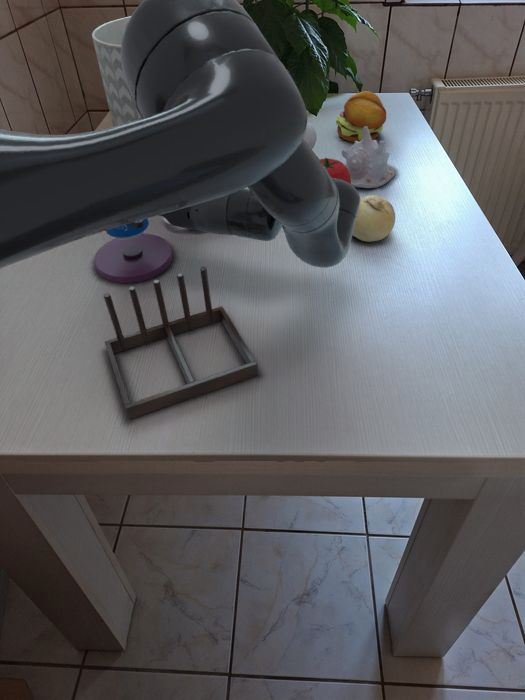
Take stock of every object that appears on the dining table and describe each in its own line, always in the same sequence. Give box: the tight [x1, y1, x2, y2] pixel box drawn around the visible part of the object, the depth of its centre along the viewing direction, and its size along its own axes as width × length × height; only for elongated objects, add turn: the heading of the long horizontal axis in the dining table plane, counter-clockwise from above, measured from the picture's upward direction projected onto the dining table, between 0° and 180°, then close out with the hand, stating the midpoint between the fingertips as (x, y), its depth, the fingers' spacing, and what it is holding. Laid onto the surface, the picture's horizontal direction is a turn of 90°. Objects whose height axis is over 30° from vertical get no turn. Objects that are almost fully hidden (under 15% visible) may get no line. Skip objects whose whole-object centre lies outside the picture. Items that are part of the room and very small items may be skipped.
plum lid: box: [93, 233, 173, 284], centre depth 78 cm, size 12×12×2 cm
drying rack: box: [103, 266, 259, 420], centre depth 59 cm, size 16×12×9 cm
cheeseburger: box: [335, 90, 387, 143], centre depth 108 cm, size 10×11×10 cm
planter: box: [91, 15, 142, 126], centre depth 96 cm, size 25×25×24 cm
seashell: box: [341, 126, 396, 189], centre depth 94 cm, size 10×12×9 cm
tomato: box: [319, 156, 351, 184], centre depth 88 cm, size 9×9×8 cm
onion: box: [352, 194, 396, 243], centre depth 80 cm, size 8×8×7 cm
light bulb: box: [303, 121, 317, 150], centre depth 95 cm, size 6×6×10 cm
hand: (103, 185), depth 71 cm, fingers closed on beverage can, 6 cm apart
